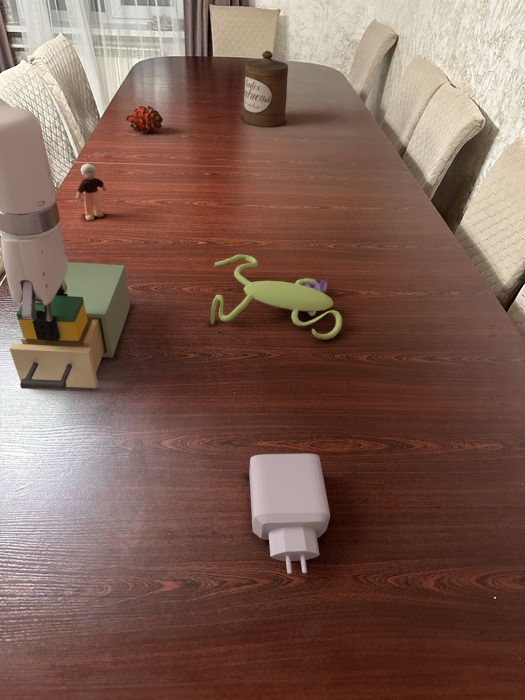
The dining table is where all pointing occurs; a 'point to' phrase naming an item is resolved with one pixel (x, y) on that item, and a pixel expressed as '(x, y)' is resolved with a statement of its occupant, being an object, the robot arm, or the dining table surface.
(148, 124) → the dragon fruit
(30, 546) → the dining table surface
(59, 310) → the sponge
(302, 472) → the charger
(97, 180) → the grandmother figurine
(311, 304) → the figurine
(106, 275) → the cabinet
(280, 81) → the wooden container
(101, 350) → the drawer
